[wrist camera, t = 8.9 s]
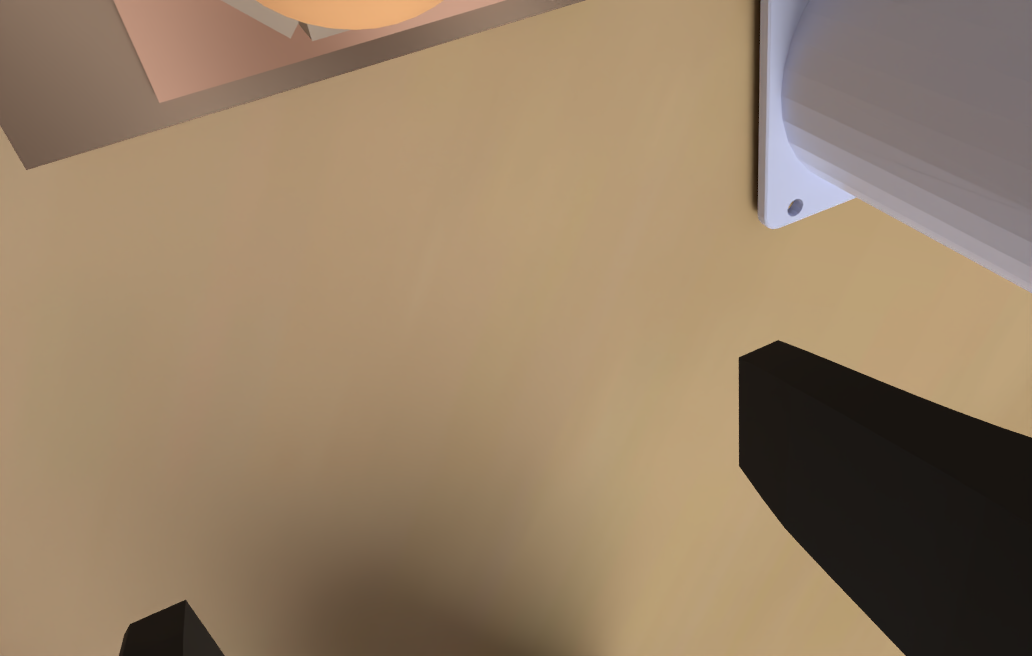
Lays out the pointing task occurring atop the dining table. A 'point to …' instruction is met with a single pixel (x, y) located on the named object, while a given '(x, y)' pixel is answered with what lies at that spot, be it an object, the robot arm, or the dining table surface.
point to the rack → (185, 61)
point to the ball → (350, 11)
